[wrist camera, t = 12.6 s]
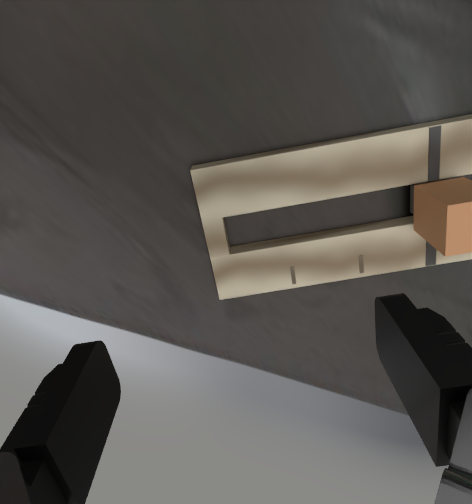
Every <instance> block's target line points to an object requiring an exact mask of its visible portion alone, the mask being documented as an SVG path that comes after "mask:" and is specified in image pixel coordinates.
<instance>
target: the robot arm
mask: <svg viewBox="0 0 472 504" xmlns="http://www.w3.org/2000/svg"><path fill="white" fill-rule="evenodd" d="M375 328H376V345H377V351H378V354H379V358H380V360H381V363H382V365H383V367H384V369H385V370H386V372H387V374H388V376H389V378H390V380H391V382H392V384H393V386H394V388H395V389H396V391H397V393H398V395H399V397H400V399H401V401H402V403H403V405H404V407H405V408H406V410H407V412H408V414H409V416H410V418H411V420H412V422H413V424H414V426H415V427H416V429H417V431H418V433H419V435H420V437H421V439H422V441H423V443H424V444H425V446H426V448H427V450H428V452H429V454H430V456H431V457H432V460H433V462H434V463H435V465H436V466H445V465H449V467H448V469H447V468H445V470H444V472H443V475H442V478H441V481H440V485H439V489H438V493H437V496H436V500H435V504H472V348H471V347H470V346H469V344H468V343H465V340H464V339H463V338H462V337H461V335H460V334H459V333H458V332H457V333H456V330H455V329H454V328H453V326H452V325H451V324H450V323H449V322H448V321H447V320H446V318H445V317H443V316H441V315H439V314H438V313H436V312H434V311H432V310H430V309H429V308H422V309H417V308H416V307H415V306H414V305H413V303H412V302H411V301H410V300H409V298H408V297H407V296H406V295H405V294H404V293H401V294H395V295H388V296H382V297H376V299H375ZM120 394H121V390H120V382H119V378H118V376H117V373H116V371H115V369H114V366H113V363H112V361H111V358H110V356H109V353H108V351H107V348H106V346H105V344H104V343H103V342H102V341H94V342H88V343H81V344H76V345H74V346H73V347H72V349H71V350H70V352H69V354H68V355H67V357H66V359H65V361H64V362H63V364H58V365H57V366H56V367H55V368H54V369H53V370H52V371H51V372H50V373H49V374H48V375H47V376H45V377H44V379H43V380H42V382H41V384H40V385H39V387H38V388H37V390H36V392H35V395H34V396H33V397H32V398H31V400H30V401H29V403H28V407H27V408H25V409H24V411H23V413H22V415H21V416H20V418H19V419H18V421H17V422H16V424H15V426H14V427H13V429H12V431H11V432H10V434H9V436H8V437H7V439H6V441H5V442H4V444H3V445H2V447H1V449H0V504H85V502H86V498H87V496H88V493H89V490H90V487H91V484H92V481H93V478H94V475H95V472H96V469H97V466H98V463H99V460H100V457H101V455H102V452H103V448H104V446H105V443H106V440H107V437H108V434H109V431H110V428H111V425H112V422H113V419H114V416H115V413H116V410H117V407H118V404H119V401H120Z"/></svg>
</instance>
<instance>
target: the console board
mask: <svg viewBox="0 0 472 504" xmlns="http://www.w3.org/2000/svg"><path fill="white" fill-rule="evenodd" d="M190 172H191V176H192V181H193V185H194V189H195V194H196V198H197V203H198V207H199V211H200V216H201V220H202V224H203V229H204V233H205V237H206V242H207V246H208V250H209V255H210V259H211V264H212V268H213V272H214V277H215V281H216V285H217V290H218V294H219V298H220V300H222V299H228V298H235V297H241V296H247V295H253V294H259V293H265V292H272V291H278V290H284V289H290V288H296V287H302V286H309V285H315V284H321V283H327V282H333V281H339V280H346V279H352V278H358V277H364V276H370V275H376V274H383V273H389V272H395V271H401V270H407V269H413V268H420V267H426V266H432V265H438V264H444V263H450V262H457V261H463V260H469V259H472V252H471V253H465V254H459V255H452V256H446V257H445V256H444V255H443V254H441V253H440V252H439V251H438V250H437V249H435V248H434V247H433V246H432V245H431V244H429V243H428V242H427V241H426V240H425V239H424V238H422V237H421V236H420V235H419V234H418V233H416V232H415V231H414V230H413V226H414V215H413V216H407V217H401V218H395V219H389V220H384V221H378V222H372V223H366V224H360V225H354V226H348V227H342V228H337V229H331V230H325V231H319V232H313V233H307V234H301V235H295V236H290V237H284V238H278V239H272V240H266V241H260V242H254V243H248V244H243V245H237V246H231V247H230V245H229V240H228V236H227V231H226V226H225V221H224V217H228V216H234V215H240V214H246V213H251V212H257V211H263V210H268V209H274V208H280V207H285V206H291V205H297V204H303V203H308V202H314V201H320V200H325V199H331V198H337V197H343V196H348V195H354V194H360V193H365V192H371V191H377V190H383V189H388V188H394V187H400V186H405V185H411V184H417V183H423V182H428V181H434V180H440V179H445V178H451V177H457V176H463V175H468V174H472V114H470V115H464V116H459V117H454V118H448V119H443V120H437V121H432V122H426V123H421V124H416V125H410V126H405V127H399V128H394V129H388V130H383V131H378V132H372V133H367V134H361V135H356V136H350V137H345V138H340V139H334V140H329V141H323V142H318V143H312V144H307V145H302V146H296V147H291V148H285V149H280V150H274V151H269V152H264V153H258V154H253V155H247V156H242V157H236V158H231V159H226V160H220V161H215V162H209V163H204V164H198V165H193V166H192V167H191V169H190Z"/></svg>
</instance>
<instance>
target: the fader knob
mask: <svg viewBox="0 0 472 504" xmlns="http://www.w3.org/2000/svg"><path fill="white" fill-rule="evenodd" d="M410 212H411V213H413V214H414V226H413V230H414V231H415V232H416V233H418V234H419V235H420V236H421V237H422V238H424V239H425V240H426V241H427V242H428V243H429V244H431V245H432V246H433V247H434V248H435V249H437V250H438V251H439V252H440V253H441V254H443V255H444V256H445V257H446V256H452V255H459V254H465V253H471V252H472V180H469V179H467V178H465V177H460V178H454V179H448V180H443V181H441V180H435V181H429V182H424V183H418V184H412V185H410Z"/></svg>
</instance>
